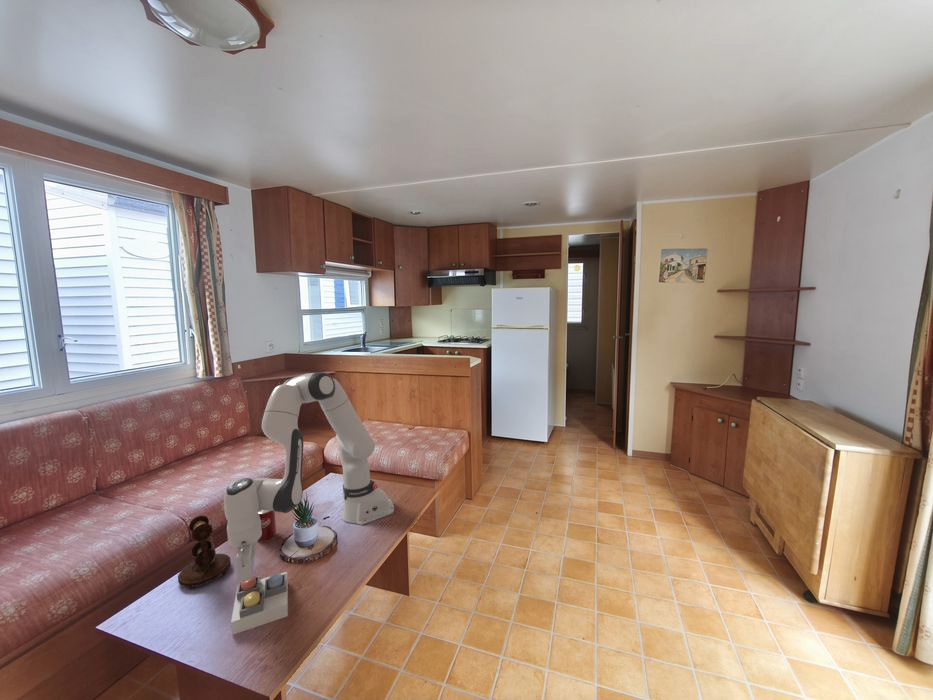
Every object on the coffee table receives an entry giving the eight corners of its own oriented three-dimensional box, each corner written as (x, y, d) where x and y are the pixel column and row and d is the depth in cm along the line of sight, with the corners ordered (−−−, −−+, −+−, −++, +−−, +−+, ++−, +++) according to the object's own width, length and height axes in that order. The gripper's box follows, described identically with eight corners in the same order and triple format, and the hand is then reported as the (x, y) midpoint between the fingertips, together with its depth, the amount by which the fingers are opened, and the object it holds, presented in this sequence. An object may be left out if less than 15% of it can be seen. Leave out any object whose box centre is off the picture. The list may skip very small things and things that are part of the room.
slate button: (283, 581, 117) (282, 572, 117) (283, 589, 114) (282, 580, 113) (269, 585, 116) (268, 576, 115) (268, 594, 112) (267, 585, 112)
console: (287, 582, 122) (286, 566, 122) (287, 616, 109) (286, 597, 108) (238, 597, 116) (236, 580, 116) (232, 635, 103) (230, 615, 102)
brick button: (256, 582, 117) (256, 574, 116) (256, 591, 113) (255, 582, 113) (242, 587, 115) (241, 578, 115) (240, 596, 111) (240, 587, 111)
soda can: (268, 544, 143) (265, 514, 142) (251, 541, 145) (249, 513, 143) (280, 532, 150) (278, 505, 149) (265, 530, 152) (263, 503, 150)
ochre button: (260, 598, 110) (259, 589, 110) (259, 608, 107) (259, 599, 106) (245, 603, 109) (244, 594, 108) (243, 613, 105) (242, 604, 105)
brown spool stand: (235, 574, 127) (229, 520, 124) (181, 598, 117) (174, 539, 114) (226, 554, 137) (221, 503, 135) (176, 574, 127) (169, 520, 125)
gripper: (254, 550, 104) (259, 594, 106) (258, 514, 122) (262, 552, 124) (228, 557, 101) (233, 602, 103) (236, 519, 120) (240, 558, 121)
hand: (249, 575), depth 114 cm, fingers closed
